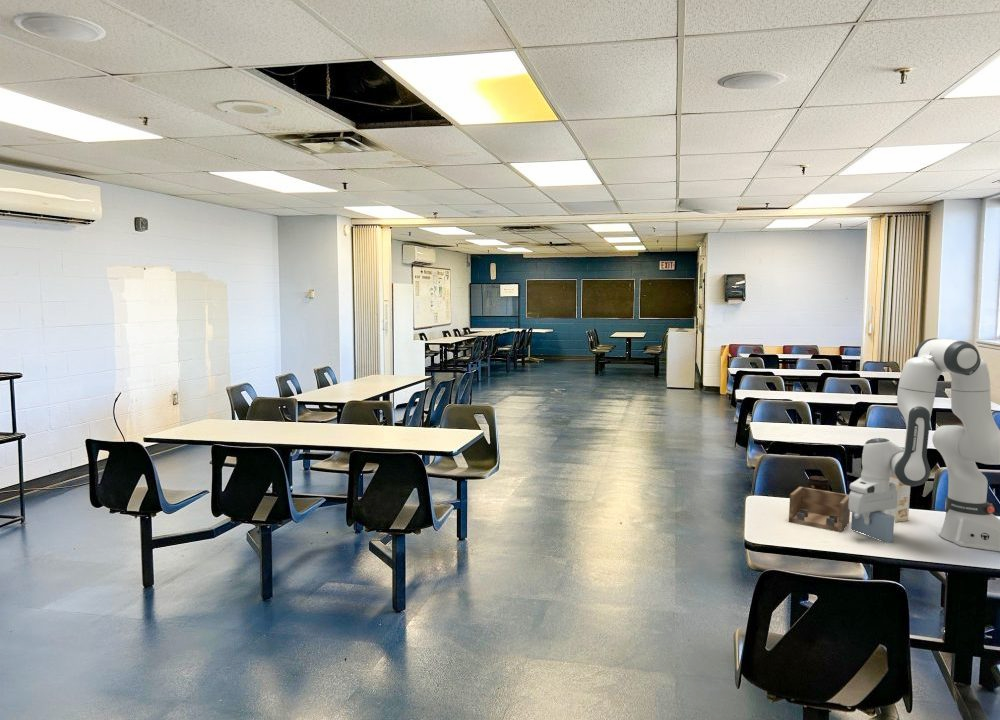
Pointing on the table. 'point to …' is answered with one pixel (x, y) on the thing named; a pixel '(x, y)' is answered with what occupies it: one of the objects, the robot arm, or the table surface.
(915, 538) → the table surface
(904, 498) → the coffeecake box
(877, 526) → the door
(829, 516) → the cabinet
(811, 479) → the coffee cup
